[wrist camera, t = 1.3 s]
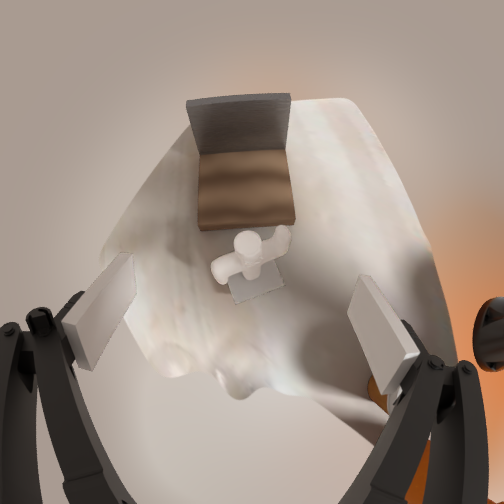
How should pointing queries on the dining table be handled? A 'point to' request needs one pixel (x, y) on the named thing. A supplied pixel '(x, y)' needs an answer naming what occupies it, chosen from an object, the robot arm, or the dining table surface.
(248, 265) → the figurine
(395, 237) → the dining table surface
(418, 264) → the dining table surface
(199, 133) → the grey metal bookend
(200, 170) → the walnut shelf board
